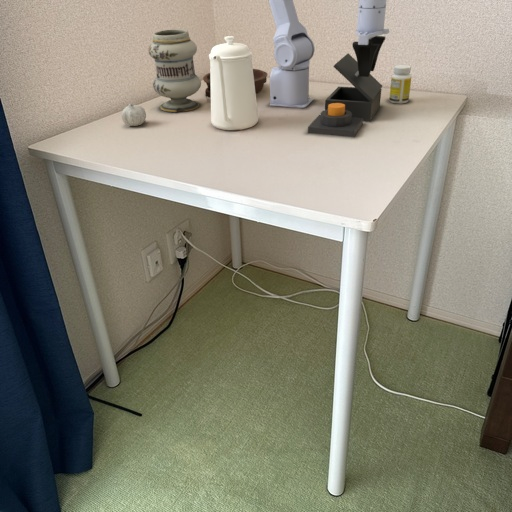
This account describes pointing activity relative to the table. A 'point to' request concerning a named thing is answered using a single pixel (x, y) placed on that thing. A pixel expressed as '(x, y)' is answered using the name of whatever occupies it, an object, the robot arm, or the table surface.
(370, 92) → the lid
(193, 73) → the apothecary jar
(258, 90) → the dish
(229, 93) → the coffeepot
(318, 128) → the orange push button box
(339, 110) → the button
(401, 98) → the supplement bottle
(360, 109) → the dark grey lipped box
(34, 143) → the table surface
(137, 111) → the garlic
